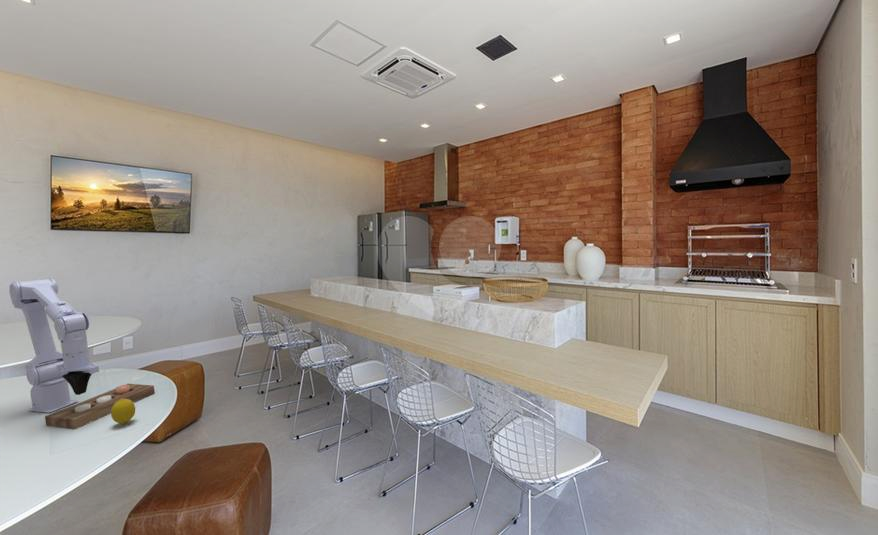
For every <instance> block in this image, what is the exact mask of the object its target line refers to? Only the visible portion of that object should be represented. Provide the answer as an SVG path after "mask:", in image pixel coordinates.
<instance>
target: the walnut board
mask: <svg viewBox="0 0 878 535" xmlns="http://www.w3.org/2000/svg"><path fill="white" fill-rule="evenodd" d="M125 385H130V392H127V393H125V394H123V395H117V394H116V388H113V389H111V390H108V391H107V392H103V393H100V394H98V395H96V396H93V397H91V398H87V399H86V400H83V401H80V402H76V403H74V404H71V405H69V406H66V407H64V408H61V409H59V410H56V411H54V412H53V413H52V412H51V413H49V414H48V415H45V416H44V420H45V421H44V422H45V426H47V427H55V428H62V429H63V428H65V429H71V430H77V429H79V428H82V427H83V426H85V424H86V425H88V424H90V423H92V422H94V420H95V421H97V420H99V419H101V418H103V417H105V415H106V416H108V415H111V410H112V407H113V405H114V404H115V403H116V402H117V401H119V400H120V399H122V398H123V399H129V400H131V401H132V402H135V403H137V402H139V401H141V400H143V399H145V397H146V398H148V397H150V396H152V395H154V393H155V394H156V392H155V386H154V384H153V385H152V384H139V383H125ZM107 395H111V400H108V401H106V402H103V403H97V400H96V399H98V398H100V397H102V396H107ZM138 400H139V401H138ZM136 401H137V402H136ZM83 404H91V408H89V409H87V410H84V411H82V412H75V407H77V406H80V405H83ZM107 414H108V415H107ZM98 418H99V419H98ZM96 419H97V420H96ZM91 421H92V422H91ZM89 422H90V423H89ZM87 423H88V424H87ZM78 427H79V428H78Z"/></svg>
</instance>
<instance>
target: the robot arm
mask: <svg viewBox="0 0 878 535" xmlns="http://www.w3.org/2000/svg"><path fill="white" fill-rule="evenodd" d="M58 293H59V285H58V282H57V281H56V280H55V279H54V278H47V279H46V278H45V279H35V280H25V281H24V280H23V281H22V280H21V281H12V282H11V283H10V284H9V296H10V300H11V302H12V305H13V307H14V308H15V309H20V310H22V313H23V315H24V318H25V322H26V325H27V329H28V332H29V335H30V339H31V343H32V346H33V350H34V353H35V356H34V357H33V358H32V359H31V360H30V361H29V362H27V363H26V364H25V369H26V373H25V374H26V379H27V381H28V383H29V385H31V386H32V387H31V389H30V391H29V392H30V400H31V406H32V408H29V409H28V411H29V412H36V413H47V414H51V413H52V412H53V413H54V412H57V411H59V410H62V409H64V408H67V407H69V406H72V405H74V404H76V403H78V402H77V401H78V400H74V399H71V396H70V395H71V394H70V388H69V385H70V387H71V389H72V391H73V393H74V394H75V395H76V396H79V395H82V394H85V393H87V389H88V385H89V380H90V379H91V376H92V375H93V374H96V373H99V372H100V369H99V368H100V367H99V365H96V364H93V363H91V362H90V354H89V353H90V352H89V347H88V340H87V339H88V338H87V337H88V336H87V331H88V330H89V328H90V321H89V318H88V316H87V314H86V312H84V311H83V312H81V311H77V310H76V309H75V308H74V307H73V306H72V305H71V304H70V303H69V302H67V301H65V300H62V299H61V298H60V297H59V295H58ZM47 316H48V317H47ZM48 318H49V319H50V320H51V321H52V322H53V323H54V324H53V326H54V329H55V333H56V336H57V340H59V342H60V347H61V352H60V351H57V348H56V345H55V341H54V337H53V333H52V331H51V327H50V324H49V323H50V322H49V319H48ZM75 402H76V403H75ZM73 403H74V404H73Z"/></svg>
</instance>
